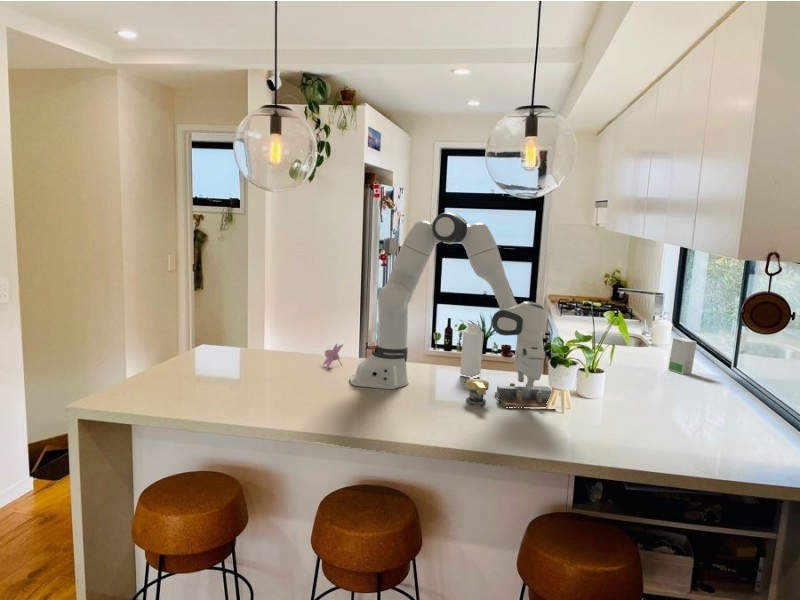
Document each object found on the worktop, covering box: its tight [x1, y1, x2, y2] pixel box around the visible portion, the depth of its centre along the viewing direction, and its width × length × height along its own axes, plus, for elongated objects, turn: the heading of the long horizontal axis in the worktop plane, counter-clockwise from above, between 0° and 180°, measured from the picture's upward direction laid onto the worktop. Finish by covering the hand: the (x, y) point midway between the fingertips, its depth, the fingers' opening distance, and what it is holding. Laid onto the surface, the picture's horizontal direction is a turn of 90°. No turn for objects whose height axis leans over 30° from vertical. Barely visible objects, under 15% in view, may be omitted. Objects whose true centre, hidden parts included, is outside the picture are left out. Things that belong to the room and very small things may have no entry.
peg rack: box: [494, 382, 547, 409], centre depth 204 cm, size 18×14×6 cm
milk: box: [459, 323, 484, 377], centre depth 233 cm, size 6×6×22 cm
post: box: [465, 389, 487, 406], centre depth 201 cm, size 7×7×5 cm
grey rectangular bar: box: [495, 385, 552, 402], centre depth 203 cm, size 19×5×4 cm, turn 95°
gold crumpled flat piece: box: [465, 378, 490, 396], centre depth 198 cm, size 12×8×2 cm, turn 5°
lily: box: [322, 343, 344, 370], centre depth 237 cm, size 12×12×10 cm
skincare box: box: [667, 337, 698, 375], centre depth 265 cm, size 8×7×16 cm
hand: (524, 385), depth 203 cm, fingers open, 8 cm apart
